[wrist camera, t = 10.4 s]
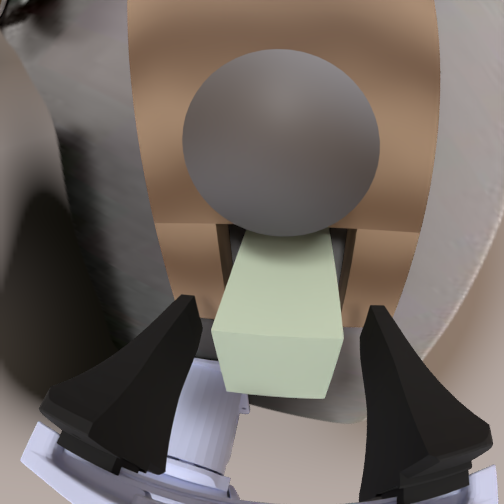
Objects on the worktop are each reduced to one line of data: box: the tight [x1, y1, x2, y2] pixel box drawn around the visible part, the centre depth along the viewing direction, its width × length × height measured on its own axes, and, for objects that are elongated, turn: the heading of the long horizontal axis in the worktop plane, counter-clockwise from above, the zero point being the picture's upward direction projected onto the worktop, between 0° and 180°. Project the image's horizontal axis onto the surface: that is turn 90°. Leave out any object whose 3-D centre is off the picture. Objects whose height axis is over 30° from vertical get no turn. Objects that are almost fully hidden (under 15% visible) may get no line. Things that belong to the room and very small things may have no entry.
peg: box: [211, 227, 344, 399], centre depth 12 cm, size 4×4×7 cm
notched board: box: [127, 0, 440, 327], centre depth 10 cm, size 20×12×2 cm, turn 3°
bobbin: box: [182, 49, 380, 237], centre depth 8 cm, size 5×5×4 cm
